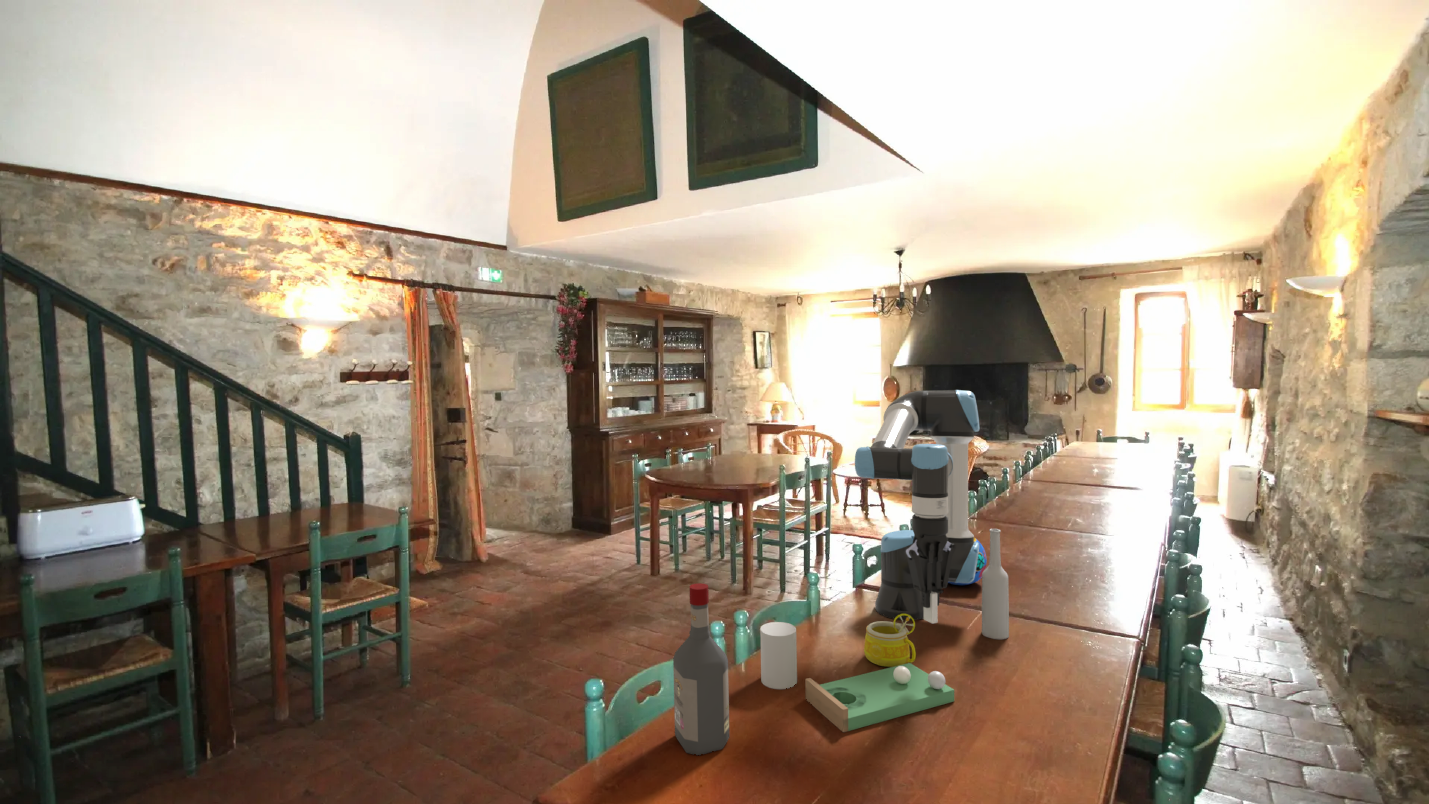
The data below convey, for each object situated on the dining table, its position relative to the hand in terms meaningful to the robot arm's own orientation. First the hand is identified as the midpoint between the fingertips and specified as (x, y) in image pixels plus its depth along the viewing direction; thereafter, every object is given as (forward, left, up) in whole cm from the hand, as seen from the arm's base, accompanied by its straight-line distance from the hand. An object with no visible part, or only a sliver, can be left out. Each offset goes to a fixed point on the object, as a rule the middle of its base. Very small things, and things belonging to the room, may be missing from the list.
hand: (930, 620), depth 140 cm
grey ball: (+5, -3, -11) cm, 12 cm away
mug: (-14, 0, -15) cm, 21 cm away
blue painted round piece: (-51, +57, -15) cm, 78 cm away
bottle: (-15, +35, -15) cm, 41 cm away
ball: (0, -8, -11) cm, 13 cm away
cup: (-17, -29, -15) cm, 37 cm away
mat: (0, -14, -15) cm, 20 cm away
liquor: (-2, -54, -15) cm, 56 cm away
